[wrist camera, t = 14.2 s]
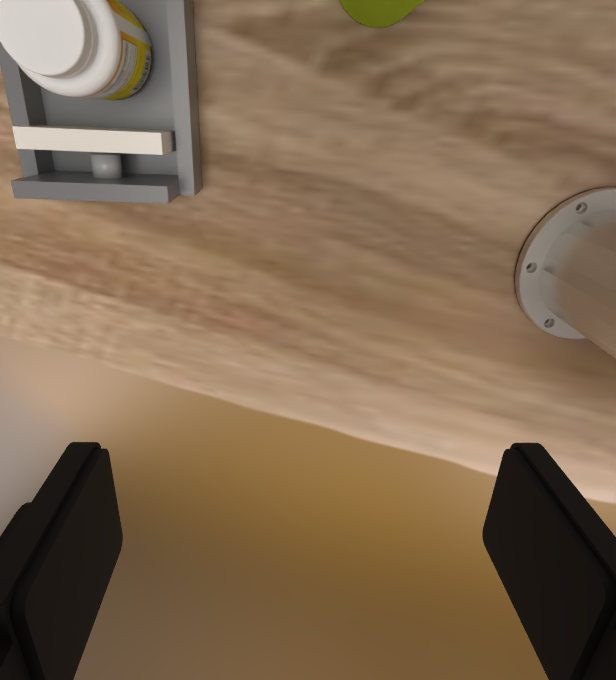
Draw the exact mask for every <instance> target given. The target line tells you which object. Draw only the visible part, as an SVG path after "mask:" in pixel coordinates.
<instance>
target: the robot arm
mask: <svg viewBox="0 0 616 680" xmlns="http://www.w3.org/2000/svg"><path fill="white" fill-rule="evenodd" d="M577 205H578V206H577ZM576 207H577V208H576ZM528 264H529V265H528ZM527 265H528V267H527ZM515 287H516V295H517V298H518V301H519V304H520V307H521V308H522V310H523V311H524V313H525V315H526V316H527V317H528V318H529V319H530V320H531V321H532V322H533V323H534V324H535V325H536V326H538V327H539V328H540V329H542V330H543V331H545V332H547V333H549V334H551V335H554V336H556V337H561V338H565V339H589V340H590V341H591V342H593V343H594V344H596V345H597V346H598V347H600V348H601V349H603V350H604V351H605V352H607V353H608V354H609V355H611V356H612V357H614V358H615V359H616V187H604V188H598V189H592V190H589V191H586V192H583V193H581V194H578V195H575V196H574V197H572V198H570V199H568V200H566V201H565V202H563V203H561V204H560V205H559V206H557V207H556V208H555V209H553V210H552V211H551V212H549V213H548V214H547V215H546V216H545V217H544V218H543V219H542V221H541V222H540V223H539V224H538V225H537V226H536V227H535V229H534V230H533V232H532V233H531V234H530V236H529V237H528V239H527V241H526V243H525V245H524V247H523V249H522V251H521V253H520V256H519V260H518V263H517V267H516V275H515ZM122 536H123V535H122V528H121V522H120V516H119V511H118V505H117V498H116V493H115V487H114V481H113V474H112V468H111V463H110V457H109V452H108V450H107V449H101V446H100V444H99V443H97V442H72V443H70V444H69V445H68V447H67V448H66V450H65V451H64V453H63V454H62V456H61V457H60V459H59V460H58V462H57V463H56V465H55V467H54V468H53V470H52V471H51V473H50V474H49V476H48V478H47V479H46V481H45V482H44V484H43V485H42V487H41V488H40V490H39V491H38V493H37V494H36V496H35V498H34V499H33V501H32V502H31V503H26V504H24V505H22V506H21V508H19V510H18V511H17V512H16V514H15V515H14V517H13V518H12V520H11V521H10V523H9V524H8V526H7V527H6V529H5V530H4V532H3V533H2V535H1V536H0V680H73V679H74V676H75V673H76V671H77V668H78V665H79V662H80V660H81V657H82V654H83V652H84V649H85V646H86V643H87V641H88V638H89V635H90V633H91V630H92V627H93V624H94V622H95V619H96V616H97V613H98V611H99V608H100V605H101V603H102V600H103V597H104V594H105V592H106V589H107V586H108V584H109V581H110V578H111V575H112V573H113V570H114V567H115V565H116V562H117V559H118V556H119V554H120V551H121V547H122V538H123V537H122ZM483 541H484V545H485V547H486V549H487V552H488V554H489V556H490V558H491V560H492V562H493V564H494V566H495V568H496V570H497V572H498V575H499V577H500V579H501V581H502V583H503V585H504V587H505V589H506V591H507V593H508V595H509V597H510V600H511V602H512V604H513V606H514V608H515V610H516V612H517V614H518V616H519V618H520V620H521V623H522V625H523V627H524V629H525V631H526V633H527V635H528V637H529V639H530V641H531V643H532V645H533V647H534V650H535V652H536V654H537V656H538V658H539V660H540V662H541V664H542V666H543V668H544V671H545V673H546V675H547V677H548V679H549V680H616V537H615V536H614V535H613V533H612V532H611V531H610V529H609V528H608V527H607V526H606V524H605V523H604V522H603V521H602V519H601V518H600V517H599V516H598V514H597V513H596V512H595V511H594V509H593V508H592V507H591V506H590V505H589V503H588V502H587V501H586V499H585V498H584V497H583V496H582V494H581V493H580V492H579V491H578V489H577V488H576V487H575V486H574V485H573V483H572V482H571V481H570V480H569V478H568V477H567V476H566V475H565V473H564V472H563V471H562V470H561V468H560V467H559V466H558V465H557V463H556V462H555V461H554V460H553V458H552V457H551V456H550V455H549V453H548V452H547V451H546V450H545V448H544V447H543V446H542V445H541V444H539V443H514V444H513V445H512V446H511V448H510V449H506V450H505V451H504V454H503V457H502V461H501V465H500V468H499V472H498V476H497V480H496V483H495V487H494V490H493V494H492V498H491V501H490V505H489V509H488V513H487V516H486V520H485V524H484V527H483Z"/></svg>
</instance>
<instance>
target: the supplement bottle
mask: <svg viewBox="0 0 616 680" xmlns="http://www.w3.org/2000/svg"><path fill="white" fill-rule="evenodd" d="M0 42H1V43H2V45H3V47H4V48H5V50H6V51H7V52H8V54H9V55H10V56H11V57H12V58H13V59H14V60H15V61H16V63H17V64H18V65H19V67H20V68H21V69H22V70H23V71H24V72H25V73H26V75H27V76H28V77H30V78H31V79H32V80H33V81H34V82H36V83H37V84H38V85H40V86H41V87H43V88H45V89H47V90H49V91H51V92H53V93H56V94H59V95H63V96H68V97H81V98H92V99H105V100H123V99H127V98H130V97H132V96H134V95H136V94H137V93H138V92H140V91H141V90H142V89H143V88H144V86H145V85H146V83H147V82H148V80H149V78H150V75H151V72H152V68H153V49H152V44H151V41H150V38H149V35H148V33H147V31H146V29H145V27H144V25H143V24H142V23H141V21H140V20H139V19H138V17H137V16H136V15H135V14H134V13H133V12H132V11H131V10H129V9H128V8H127V7H126V6H124V5H123V4H122V3H120V2H119V1H117V0H0Z"/></svg>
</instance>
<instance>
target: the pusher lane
mask: <svg viewBox="0 0 616 680" xmlns="http://www.w3.org/2000/svg"><path fill="white" fill-rule="evenodd" d="M117 1H119V2H120V3H122V4H123V5H124V6H126V7H127V8H128V9H129V10H131V11H132V12H133V13H134V14H135V15H136V16H137V17H138V19H139V20H140V21H141V23H142V24H143V25H144V27H145V29H146V31H147V33H148V35H149V38H150V41H151V44H152V49H153V68H152V72H151V75H150V78H149V80H148V82H147V83H146V85H145V86H144V88H143V89H142V90H141V91H140V92H138V93H137V94H136V95H134V96H132V97H130V98H127V99H123V100H105V99H92V98H81V97H68V96H63V95H59V94H56V93H53V92H51V91H49V90H47V89H45V88H43V87H41V86H40V85H38V84H37V83H36V82H34V81H33V80H32V79H31V78H30V77H28V76H27V75H26V73H25V72H24V71H23V70H22V69H21V68H20V67H19V65H18V64H17V63H16V61H15V60H14V59H13V58H12V57H11V56H10V55H9V54H8V52H7V51H6V50H5V48H4V47H3V45H2V43H1V42H0V64H1V69H2V74H3V79H4V84H5V89H6V94H7V99H8V104H9V109H10V114H11V119H12V124H13V126H39V125H58V126H80V127H103V128H125V129H147V130H169V131H175V137H176V151H173V152H170V153H167V154H164V155H155V154H131V153H107V152H83V151H59V150H35V149H18V154H19V159H20V164H21V169H22V174H23V178H20V179H15V180H11V184H12V188H13V193H14V198H24V199H52V200H81V201H110V202H139V203H167V204H169V203H170V202H171V201H172V200H174V199H175V198H176V197H178V196H179V195H192V196H195V195H196V194H197V193H198V192H199V191H200V190H201V189H202V173H201V153H200V133H199V113H198V92H197V72H196V52H195V32H194V12H193V0H117Z"/></svg>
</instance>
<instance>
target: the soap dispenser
mask: <svg viewBox="0 0 616 680" xmlns="http://www.w3.org/2000/svg"><path fill="white" fill-rule="evenodd" d="M424 1H425V0H340V2H341V4H342V6H343V8H344V9H345V10H346V12H347V13H348V14H349V15H350V16H351V17H352V18H353V19H354V20H356V21H357V22H359V23H361V24H363V25H365V26H369V27H386V26H389V25H392V24H394V23H396V22H398V21H400V20H401V19H403V18H404V17H405V16H406V15H407V14H409V13H410V12H411V11H412V10H414V9H415V8H416V7H417V6H419V5H420V4H421V3H422V2H424Z"/></svg>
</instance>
